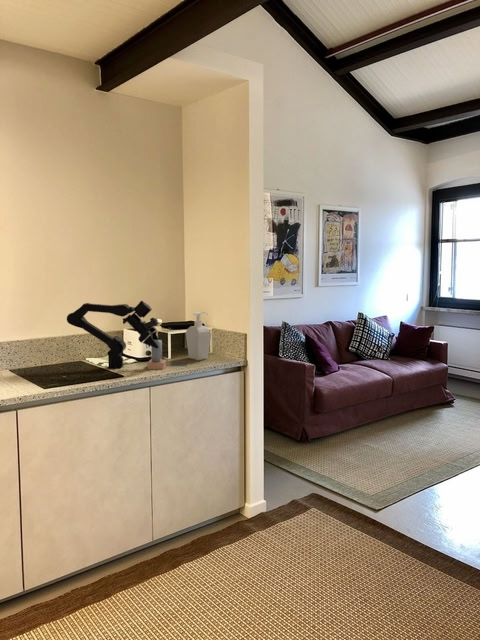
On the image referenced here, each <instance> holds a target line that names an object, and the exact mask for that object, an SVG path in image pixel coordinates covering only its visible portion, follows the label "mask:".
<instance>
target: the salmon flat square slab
mask: <svg viewBox="0 0 480 640" xmlns="http://www.w3.org/2000/svg"><path fill="white" fill-rule="evenodd" d="M166 367H167V360H166V359H162V362H152V359H149V361H148V362H147V370H164V369H165V368H166Z"/></svg>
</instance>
